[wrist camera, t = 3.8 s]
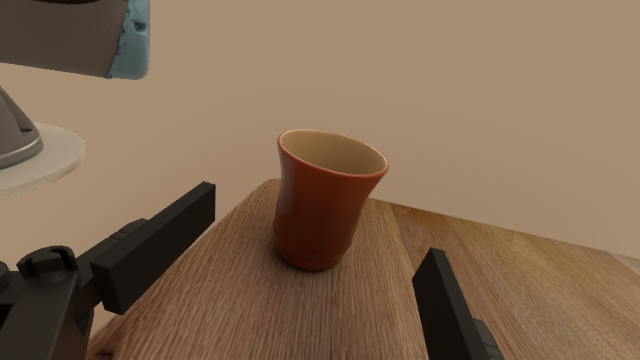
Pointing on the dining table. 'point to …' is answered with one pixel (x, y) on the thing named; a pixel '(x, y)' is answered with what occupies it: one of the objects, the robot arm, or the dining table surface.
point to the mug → (322, 195)
